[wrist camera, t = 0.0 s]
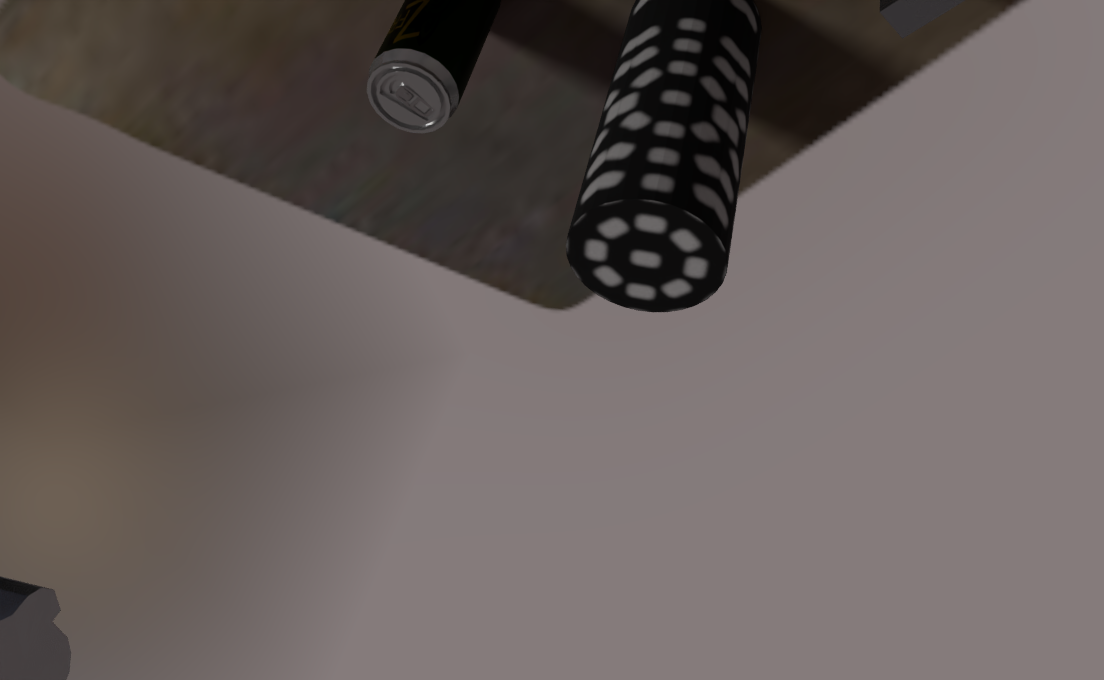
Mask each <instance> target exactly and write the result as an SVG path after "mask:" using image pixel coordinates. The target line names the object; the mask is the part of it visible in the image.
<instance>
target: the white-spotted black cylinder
mask: <svg viewBox="0 0 1104 680" xmlns="http://www.w3.org/2000/svg"><path fill="white" fill-rule="evenodd" d="M761 29H762V28H761V21H760V16H759V13H758V10H757V7H756V5H755V4H754V2H753V0H636V1H635V3H634V5H633V7H632V10H631V13H630V17H629V20H628V24H627V27H626V31H625V35H624V38H623V42H622V45H621V49H620V52H619V56H618V59H617V63H616V66H615V70H614V74H613V77H612V81H611V84H610V88H609V91H608V95H607V98H606V102H605V105H604V109H603V112H602V116H601V120H600V123H599V127H598V130H597V134H596V137H595V141H594V144H593V148H592V151H591V155H590V158H589V162H588V166H587V169H586V173H585V176H584V180H583V183H582V187H581V190H580V194H579V197H578V201H577V204H576V208H575V212H574V215H573V219H572V222H571V226H570V229H569V233H568V237H567V242H566V252H567V258H568V260H569V263H570V266H571V268H572V269H573V271H574V273H575V274H576V276H577V277H578V278H579V279H580V280H581V281H582V282H583V284H584V285H585V286H586V287H588V288H589V289H590V290H592V291H593V292H594V293H596V294H597V295H599V296H601V297H603V298H604V299H606V300H608V301H610V302H612V303H615V304H617V305H620V306H623V307H626V308H630V309H634V310H639V311H647V312H670V311H677V310H683V309H686V308H689V307H692V306H695V305H697V304H699V303H701V302H703V301H705V300H707V299H708V298H709V297H710V296H711V295H713V294H714V293H715V292H716V291H717V290H718V288H719V287H720V286H721V285H722V283H723V281H724V278H725V276H726V273H727V267H728V260H729V253H730V246H731V239H732V232H733V225H734V218H735V211H736V204H737V198H738V191H739V184H740V177H741V170H742V163H743V156H744V149H745V142H746V135H747V128H748V122H749V115H750V108H751V101H752V94H753V87H754V80H755V73H756V66H757V59H758V52H759V45H760V38H761Z"/></svg>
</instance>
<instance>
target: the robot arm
mask: <svg viewBox="0 0 1104 680" xmlns="http://www.w3.org/2000/svg"><path fill="white" fill-rule="evenodd" d="M60 611H61V610H60V607H59V604H58V600H57V597H56V594H55V591H54V590H53V589H49V588H45V587H41V586H37V585H33V584H29V583H25V582H21V581H17V580H12V579H9V578H4V577H0V680H66V679H67V676H68V674H69V669H70V658H71V651H70V646H69V642H68V638H67V636H66V635H65V634H64V633H62V631H61V630H60V629H59V628H58V627H57V626H56V625H55V624H54V623H53V622H52V621H53V620H54V618H55V617H56V616H57V614H58V613H59V612H60Z"/></svg>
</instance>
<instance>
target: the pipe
mask: <svg viewBox="0 0 1104 680" xmlns="http://www.w3.org/2000/svg"><path fill="white" fill-rule="evenodd" d="M963 1H965V0H880V13H881V14H882V15H883V16H884V18H885V19H886V20H887V21H888V22H889V23H890V25H891V26H892V27H893V28H894V29H895V30H896V31H897V33H898V34H899V35H900V36H901V37H902V38H904V37H906V36H907V35H909V34H911V33H912V32H914V31H916V30H917V29H919V28H921V27H922V26H924V25H925V24H927V23H929V22H930V21H932V20H934V19H935V18H937V17H939V16H940V15H942V14H943V13H945V12H947V11H948V10H950V9H952V8H953V7H955V6H956V5H958V4H960V3H961V2H963Z"/></svg>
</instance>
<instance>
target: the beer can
mask: <svg viewBox="0 0 1104 680" xmlns="http://www.w3.org/2000/svg"><path fill="white" fill-rule="evenodd" d="M500 3H501V0H405V1H404V3H403V5H402V7H401V9H400V11H399V13H398V15H397V17H396V19H395V21H394V23H393V24H392V26H391V28H390V30H389V32H388V34H387V36H386V38H385V40H384V42H383V44H382V46H381V47H380V49H379V51H378V53H377V55H376V57H375V59H374V61H373V63H372V65H371V67H370V68H369V80H368V83H367V94H368V97H369V101H370V103H371V105H372V106H373V108H374V109H375V111H376V112H377V114H379V115H380V116H381V117H382V118H383V119H384V120H385V121H386V122H388V123H389V124H391V125H393V126H395V127H396V128H398V129H401V130H404V131H407V132H411V133H427V132H432V131H435V130H437V129H438V128H440V127H441V126H443V125H444V123H445V122H446V121H447V119H448V118H450V117H451V116H452V115H453V113H454V112H455V110H456V109H457V107H458V105H459V102H460V100H461V97H462V95H463V93H464V90H465V88H466V86H467V83H468V81H469V78H470V76H471V74H472V71H473V69H474V67H475V64H476V62H477V59H478V57H479V55H480V52H481V50H482V48H483V45H484V43H485V40H486V38H487V36H488V33H489V31H490V28H491V26H492V24H493V21H494V19H495V17H496V14H497V12H498V9H499V7H500Z"/></svg>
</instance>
